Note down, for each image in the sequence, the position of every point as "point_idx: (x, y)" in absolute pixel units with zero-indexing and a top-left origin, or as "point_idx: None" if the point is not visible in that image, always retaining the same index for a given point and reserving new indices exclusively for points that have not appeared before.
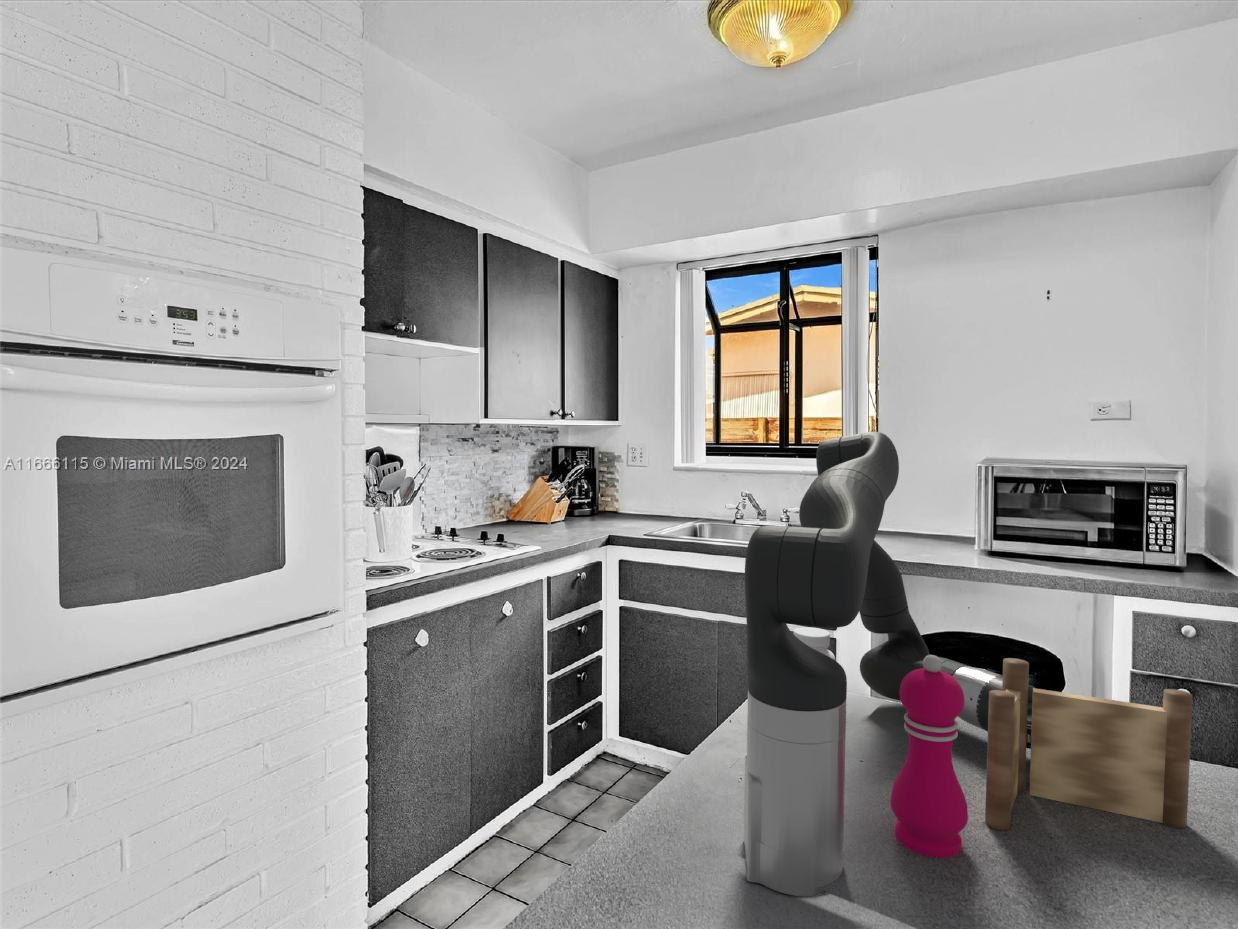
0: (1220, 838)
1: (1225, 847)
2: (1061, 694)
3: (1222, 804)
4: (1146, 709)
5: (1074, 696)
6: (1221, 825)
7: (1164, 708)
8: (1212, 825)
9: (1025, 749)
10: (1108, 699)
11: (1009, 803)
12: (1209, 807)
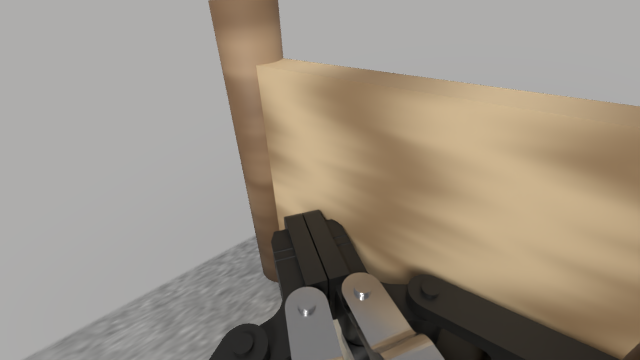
0: (229, 256)
1: (250, 240)
2: (592, 107)
3: (68, 343)
4: (319, 63)
5: (525, 96)
6: (180, 282)
7: (278, 53)
8: (195, 284)
9: (625, 358)
10: (382, 85)
11: None
12: (112, 336)
